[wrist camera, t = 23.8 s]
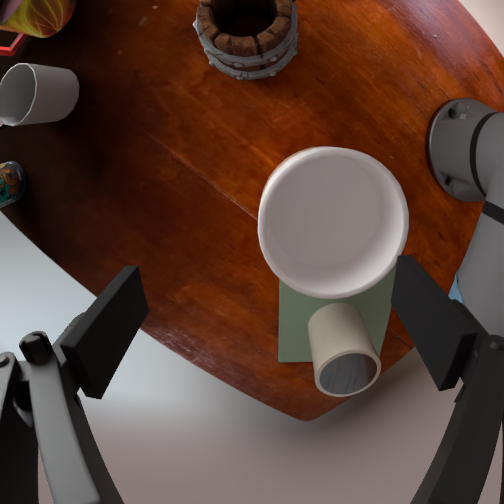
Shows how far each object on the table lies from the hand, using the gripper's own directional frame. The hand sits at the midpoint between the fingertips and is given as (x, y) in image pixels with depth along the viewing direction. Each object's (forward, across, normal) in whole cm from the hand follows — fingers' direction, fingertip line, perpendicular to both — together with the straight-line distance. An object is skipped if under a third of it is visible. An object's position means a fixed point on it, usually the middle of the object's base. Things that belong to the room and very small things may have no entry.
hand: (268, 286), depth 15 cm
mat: (+26, +10, -21) cm, 35 cm away
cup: (+27, -30, +17) cm, 44 cm away
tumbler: (+20, +10, -27) cm, 35 cm away
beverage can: (+27, -42, +6) cm, 51 cm away
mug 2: (+27, 0, +20) cm, 34 cm away
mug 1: (+27, -33, +31) cm, 53 cm away
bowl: (+26, +7, -4) cm, 28 cm away
